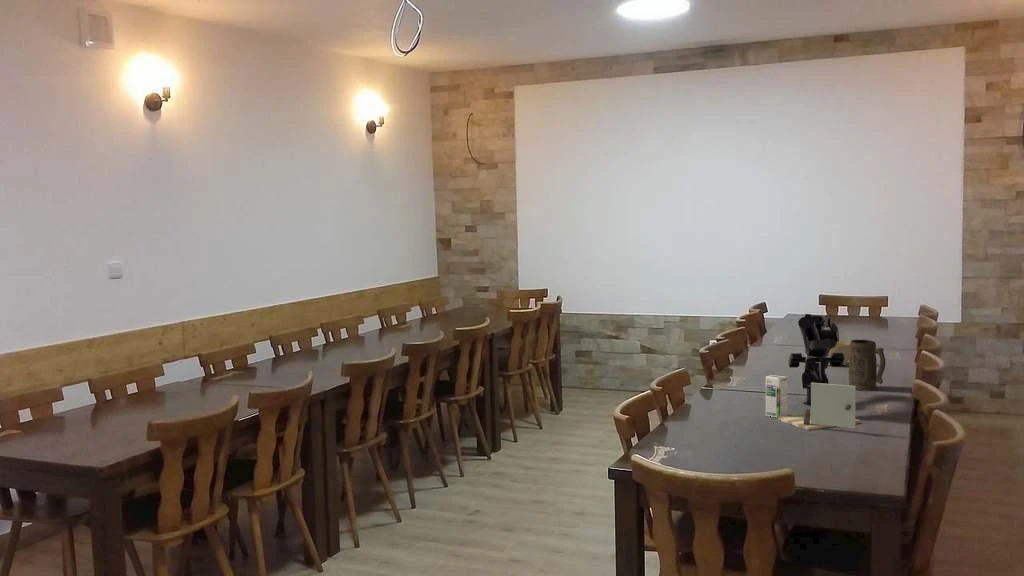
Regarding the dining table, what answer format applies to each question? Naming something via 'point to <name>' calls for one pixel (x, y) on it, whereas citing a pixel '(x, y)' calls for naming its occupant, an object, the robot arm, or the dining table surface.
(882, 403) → the dining table surface
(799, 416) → the door stand
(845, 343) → the planter bowl
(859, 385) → the beer stein
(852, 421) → the door
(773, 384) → the syrup box
